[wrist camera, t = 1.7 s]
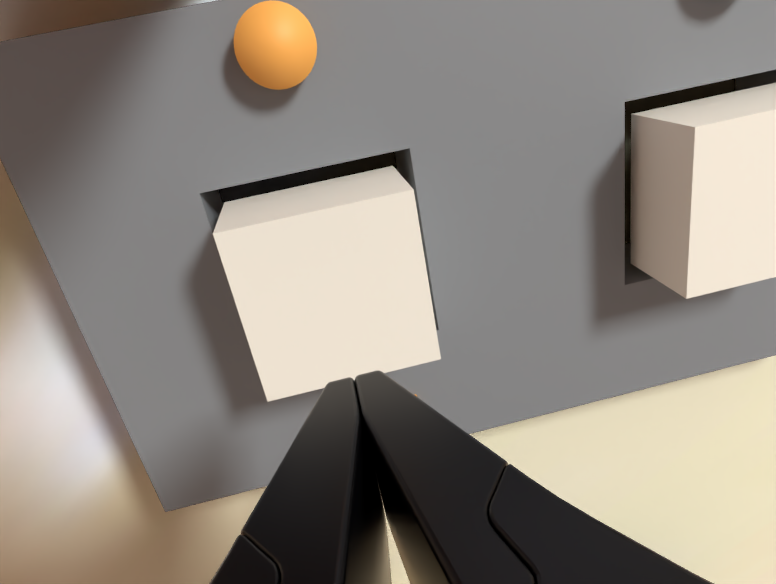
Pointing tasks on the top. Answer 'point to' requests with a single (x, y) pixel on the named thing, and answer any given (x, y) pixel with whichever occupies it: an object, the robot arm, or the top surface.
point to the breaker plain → (705, 191)
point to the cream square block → (329, 280)
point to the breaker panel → (414, 163)
